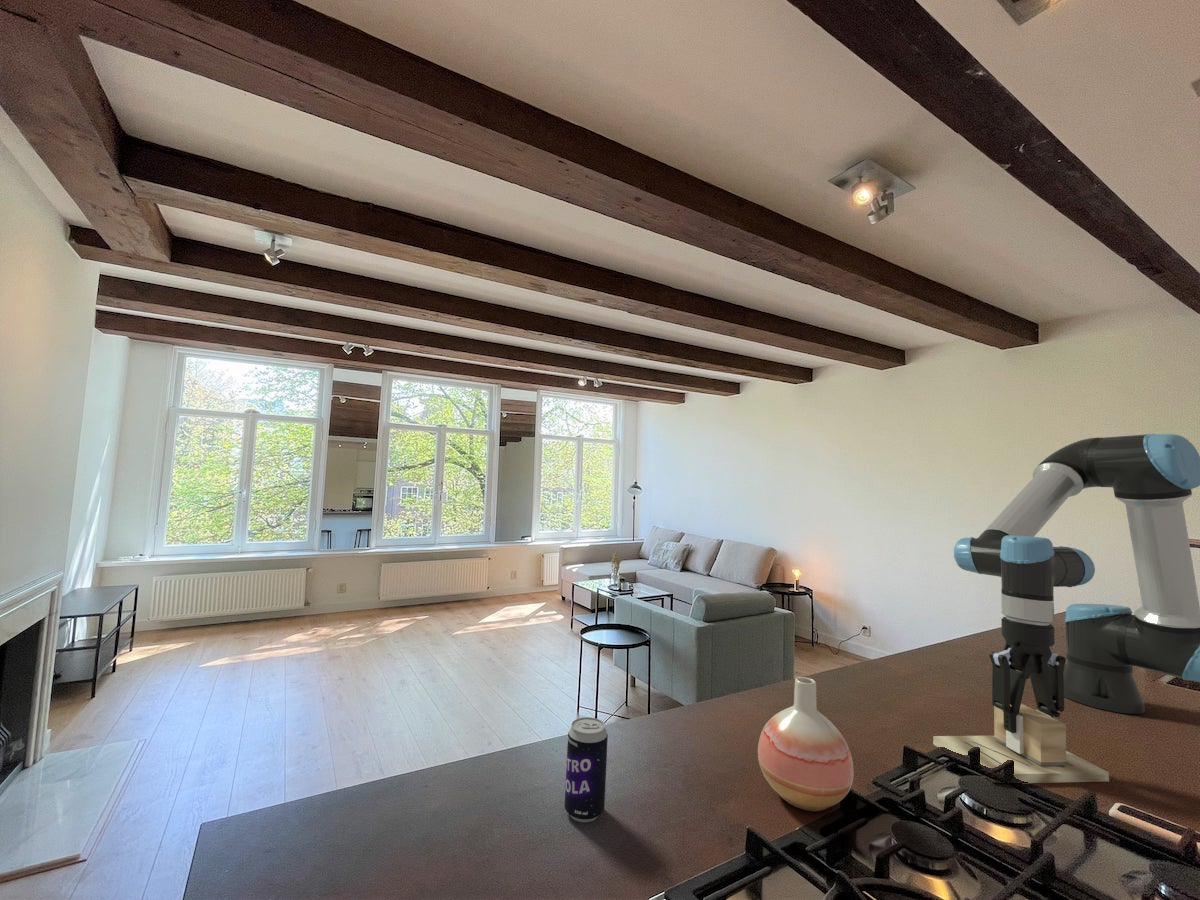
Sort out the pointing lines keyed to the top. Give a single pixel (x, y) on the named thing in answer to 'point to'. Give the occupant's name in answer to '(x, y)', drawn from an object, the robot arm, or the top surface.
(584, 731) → the beverage can
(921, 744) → the top surface
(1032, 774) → the board
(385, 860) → the top surface
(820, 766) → the vase
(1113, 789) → the top surface
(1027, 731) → the block
